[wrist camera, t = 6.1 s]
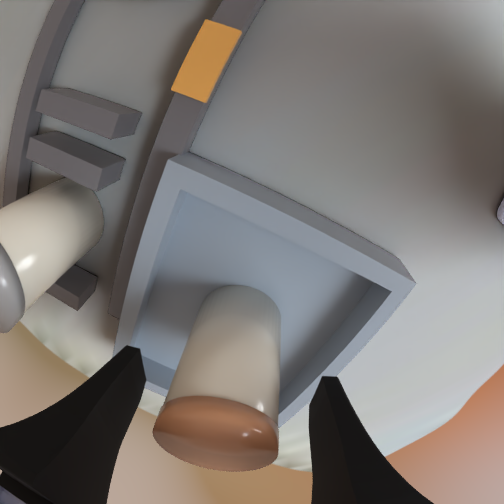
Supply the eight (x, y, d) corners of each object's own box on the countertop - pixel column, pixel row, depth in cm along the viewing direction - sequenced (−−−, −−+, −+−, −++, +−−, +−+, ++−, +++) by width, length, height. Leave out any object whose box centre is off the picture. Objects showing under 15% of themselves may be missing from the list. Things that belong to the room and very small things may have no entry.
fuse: (112, 195, 13) (7, 267, 6) (97, 263, 14) (18, 350, 8) (51, 165, 12) (-56, 215, 6) (42, 232, 14) (-42, 298, 8)
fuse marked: (289, 290, 13) (290, 428, 7) (275, 354, 15) (267, 476, 9) (198, 277, 13) (143, 403, 7) (198, 343, 15) (161, 458, 9)
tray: (399, 259, 13) (416, 283, 11) (274, 406, 18) (273, 432, 16) (186, 150, 12) (168, 159, 10) (123, 346, 17) (109, 370, 15)
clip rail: (349, -110, 4) (356, -129, 3) (135, 313, 16) (121, 336, 14) (177, -138, 3) (168, -154, 1) (12, 241, 14) (-8, 255, 13)
